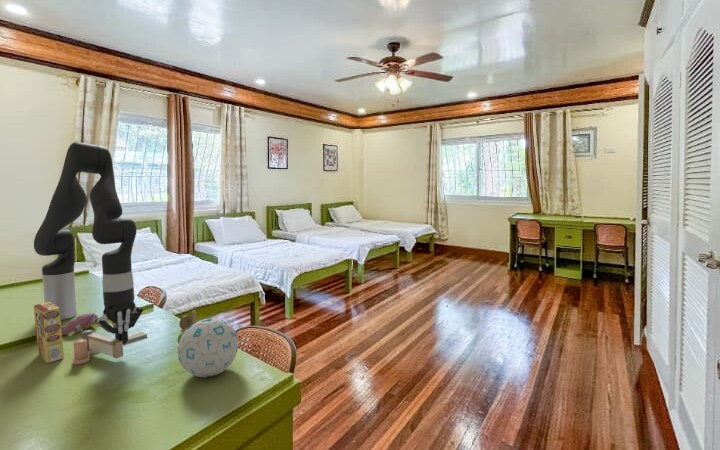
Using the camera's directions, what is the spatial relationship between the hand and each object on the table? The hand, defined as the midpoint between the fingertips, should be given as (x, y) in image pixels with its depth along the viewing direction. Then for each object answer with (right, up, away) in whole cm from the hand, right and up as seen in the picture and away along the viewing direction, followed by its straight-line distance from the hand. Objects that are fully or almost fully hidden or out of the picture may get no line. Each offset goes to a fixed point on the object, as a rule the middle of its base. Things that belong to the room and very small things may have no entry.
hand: (122, 343), depth 109 cm
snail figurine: (+16, -3, +7) cm, 18 cm away
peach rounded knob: (-9, -4, -4) cm, 11 cm away
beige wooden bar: (-5, -2, -1) cm, 6 cm away
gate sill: (-8, -3, +8) cm, 11 cm away
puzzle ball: (+29, -5, -9) cm, 31 cm away
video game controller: (-26, -2, +18) cm, 32 cm away
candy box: (-20, -4, -1) cm, 21 cm away
